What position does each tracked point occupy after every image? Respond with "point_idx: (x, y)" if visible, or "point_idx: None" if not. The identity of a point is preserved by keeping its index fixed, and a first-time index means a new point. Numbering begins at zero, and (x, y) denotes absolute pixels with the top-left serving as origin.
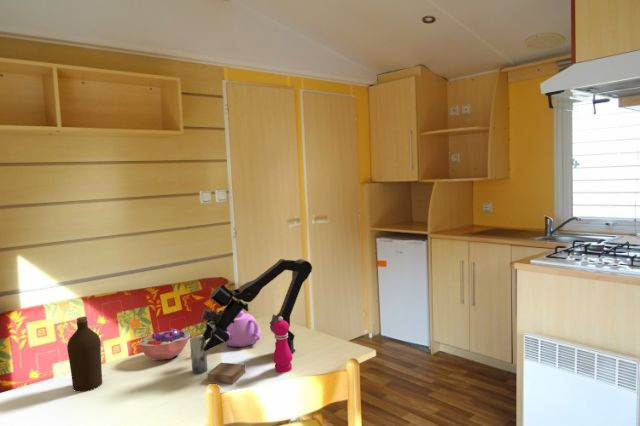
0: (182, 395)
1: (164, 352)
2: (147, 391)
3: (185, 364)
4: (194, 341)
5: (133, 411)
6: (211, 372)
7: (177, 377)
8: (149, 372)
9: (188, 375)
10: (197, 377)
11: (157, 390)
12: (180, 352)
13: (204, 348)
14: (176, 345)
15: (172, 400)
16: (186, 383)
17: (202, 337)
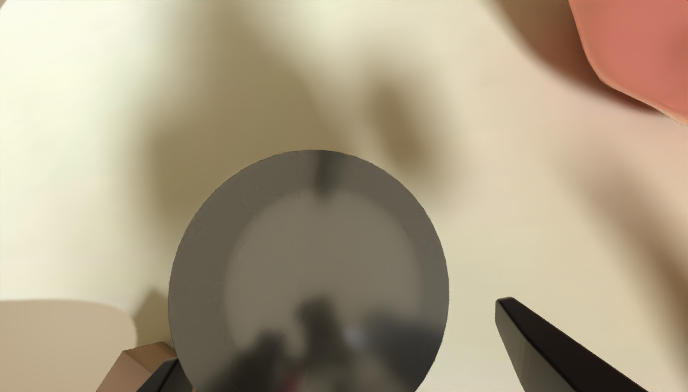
0: (69, 208)
1: (571, 1)
2: (195, 47)
3: (501, 183)
4: (186, 232)
5: (39, 36)
6: (126, 387)
7: None
8: (428, 9)
9: None
10: None
11: (185, 86)
12: (678, 122)
13: (149, 379)
14: (669, 54)
15: (44, 167)
16: None
17: (336, 381)
